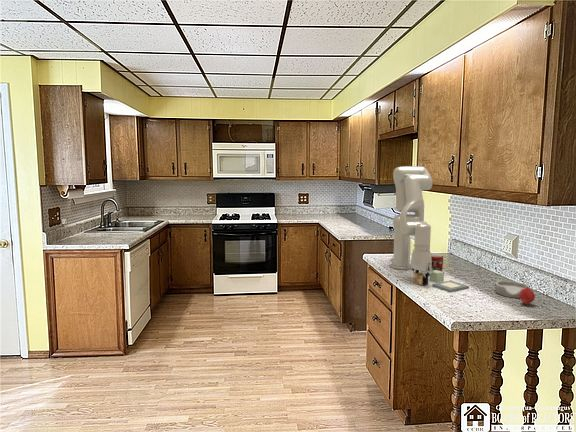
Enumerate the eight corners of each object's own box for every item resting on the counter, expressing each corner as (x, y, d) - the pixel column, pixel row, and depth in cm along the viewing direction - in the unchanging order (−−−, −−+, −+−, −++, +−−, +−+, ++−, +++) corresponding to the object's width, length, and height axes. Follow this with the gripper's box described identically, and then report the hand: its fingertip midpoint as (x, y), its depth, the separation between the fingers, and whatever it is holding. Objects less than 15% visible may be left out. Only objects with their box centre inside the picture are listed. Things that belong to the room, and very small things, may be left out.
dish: (534, 300, 178) (535, 289, 177) (501, 298, 180) (501, 287, 180) (521, 290, 192) (521, 280, 191) (490, 288, 194) (491, 278, 194)
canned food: (427, 274, 219) (427, 255, 218) (428, 271, 227) (429, 252, 225) (441, 276, 216) (442, 256, 215) (443, 272, 223) (443, 253, 222)
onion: (516, 301, 175) (517, 284, 174) (529, 302, 174) (531, 284, 173) (522, 306, 169) (523, 288, 168) (536, 306, 169) (538, 288, 168)
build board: (432, 286, 198) (432, 283, 198) (450, 282, 204) (450, 280, 204) (450, 292, 189) (450, 289, 188) (468, 288, 195) (468, 285, 194)
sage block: (429, 280, 209) (429, 271, 208) (436, 279, 211) (436, 270, 211) (436, 282, 205) (437, 273, 204) (443, 281, 207) (443, 272, 206)
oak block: (413, 282, 204) (413, 273, 204) (420, 281, 206) (421, 272, 206) (420, 285, 200) (421, 275, 199) (428, 284, 202) (428, 274, 201)
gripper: (404, 245, 207) (403, 279, 209) (429, 251, 192) (428, 288, 194) (415, 244, 210) (414, 277, 212) (440, 250, 195) (439, 286, 197)
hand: (420, 282), depth 203 cm, fingers closed on oak block, 5 cm apart
